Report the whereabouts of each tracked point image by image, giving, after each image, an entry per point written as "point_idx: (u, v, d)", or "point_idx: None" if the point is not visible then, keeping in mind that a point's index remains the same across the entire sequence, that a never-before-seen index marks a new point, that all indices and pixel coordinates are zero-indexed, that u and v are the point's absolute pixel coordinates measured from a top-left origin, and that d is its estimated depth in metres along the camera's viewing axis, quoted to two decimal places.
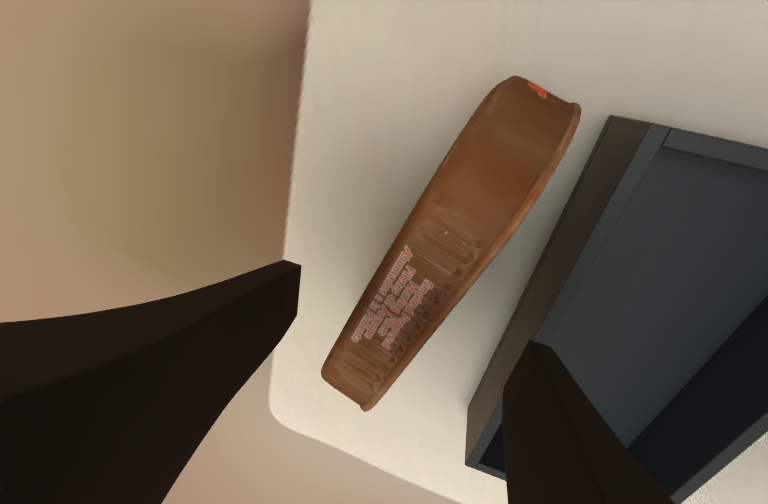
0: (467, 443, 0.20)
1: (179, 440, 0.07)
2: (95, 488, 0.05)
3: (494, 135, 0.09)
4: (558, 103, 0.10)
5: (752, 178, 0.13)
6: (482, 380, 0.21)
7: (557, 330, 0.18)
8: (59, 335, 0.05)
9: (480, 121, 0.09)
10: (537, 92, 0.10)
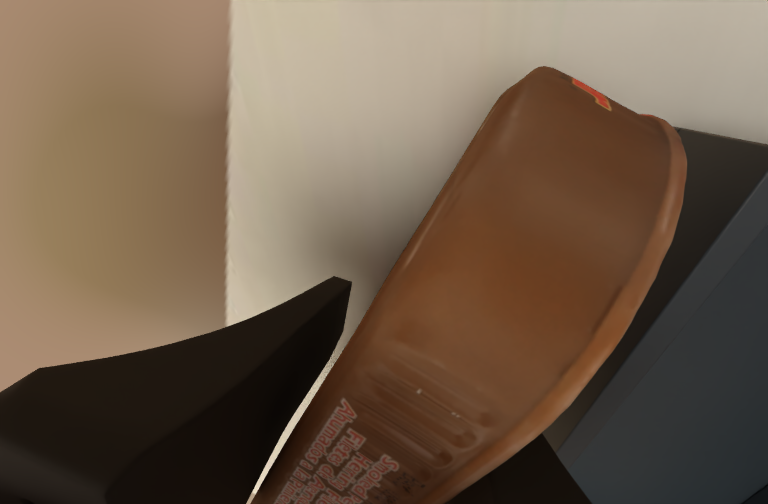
0: None
1: (249, 470, 0.07)
2: None
3: (519, 196, 0.04)
4: (634, 119, 0.05)
5: None
6: None
7: None
8: (151, 372, 0.05)
9: (486, 165, 0.04)
10: (593, 98, 0.05)
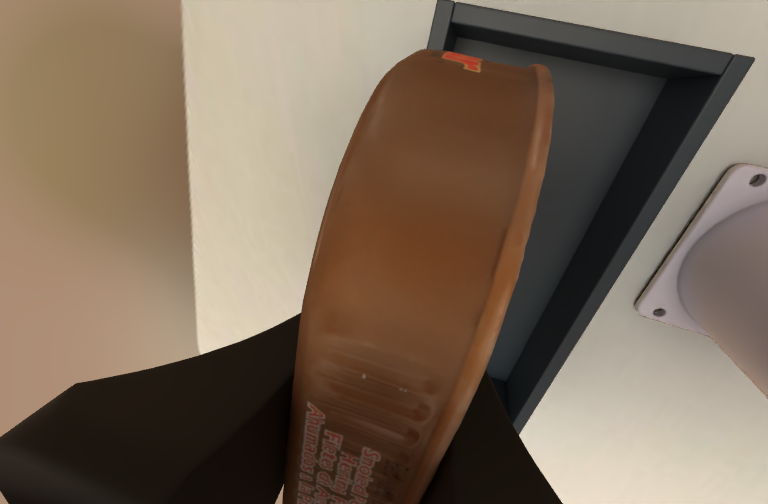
0: None
1: (275, 481, 0.07)
2: None
3: (393, 173, 0.04)
4: (506, 73, 0.05)
5: (573, 74, 0.14)
6: None
7: None
8: (185, 386, 0.05)
9: (361, 153, 0.04)
10: (462, 65, 0.05)
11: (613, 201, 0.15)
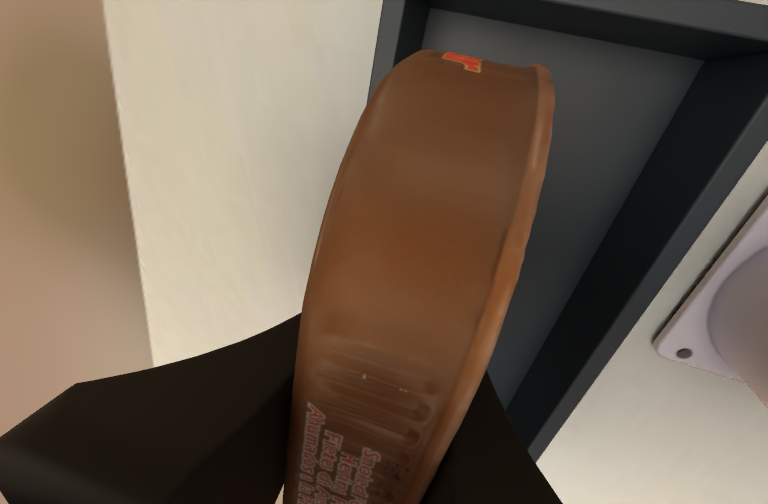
0: None
1: (275, 481, 0.07)
2: None
3: (393, 174, 0.04)
4: (506, 73, 0.05)
5: (580, 55, 0.11)
6: None
7: None
8: (186, 385, 0.05)
9: (361, 153, 0.04)
10: (462, 66, 0.05)
11: (630, 219, 0.11)
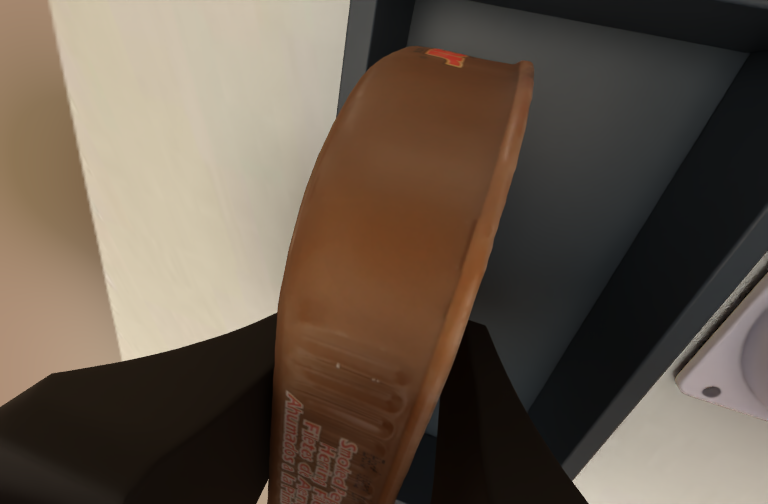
0: None
1: (258, 474, 0.07)
2: None
3: (367, 164, 0.04)
4: (488, 69, 0.05)
5: (596, 47, 0.09)
6: None
7: None
8: (163, 377, 0.05)
9: (337, 144, 0.04)
10: (444, 61, 0.05)
11: (655, 243, 0.10)
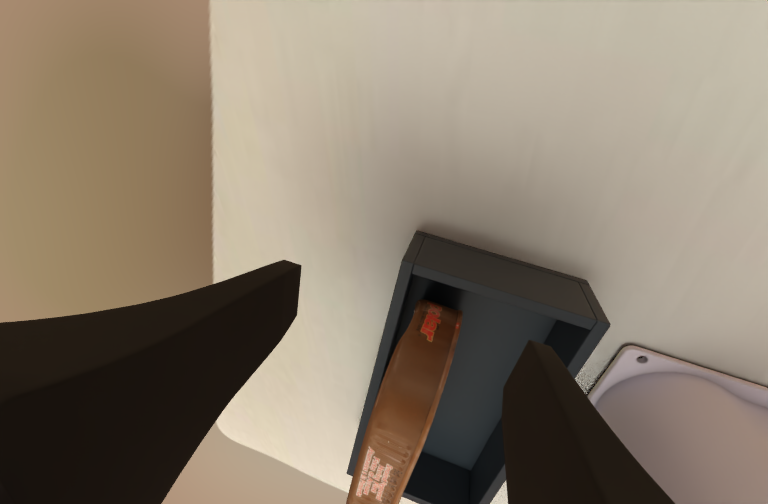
0: None
1: (179, 440, 0.07)
2: (95, 488, 0.05)
3: (400, 384, 0.14)
4: (441, 341, 0.15)
5: None
6: None
7: None
8: (59, 335, 0.05)
9: (391, 375, 0.15)
10: (426, 337, 0.15)
11: None
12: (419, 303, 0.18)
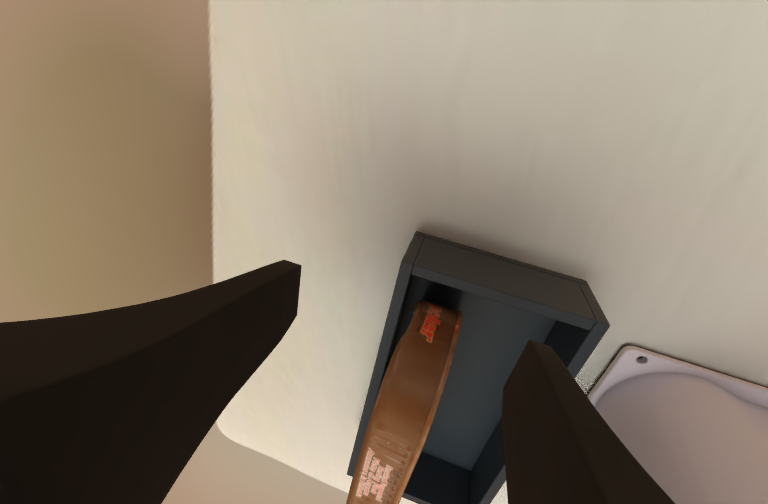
0: None
1: (179, 440, 0.07)
2: (95, 488, 0.05)
3: (399, 385, 0.14)
4: (440, 342, 0.15)
5: None
6: None
7: None
8: (59, 335, 0.05)
9: (390, 376, 0.15)
10: (426, 338, 0.15)
11: None
12: (418, 304, 0.18)
